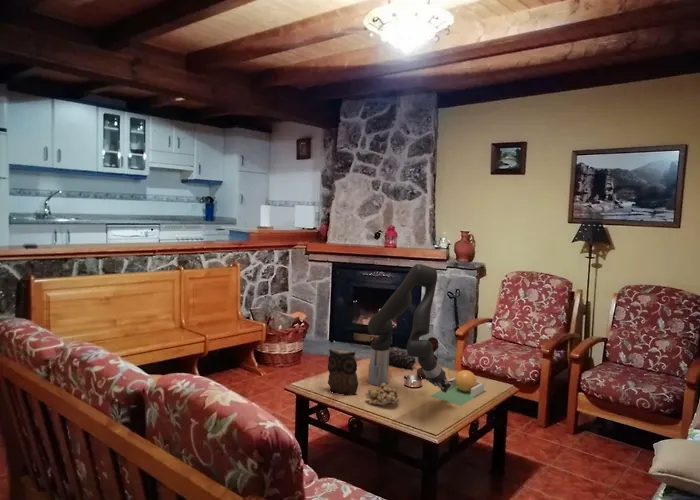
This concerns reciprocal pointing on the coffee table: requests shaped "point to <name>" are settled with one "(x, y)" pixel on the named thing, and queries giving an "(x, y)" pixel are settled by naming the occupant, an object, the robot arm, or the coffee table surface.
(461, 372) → the ball
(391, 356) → the pine cone
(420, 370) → the dark wooden ornament
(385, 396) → the mineral formation
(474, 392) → the white side walls
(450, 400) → the felt strip
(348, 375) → the owl
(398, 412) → the coffee table surface
